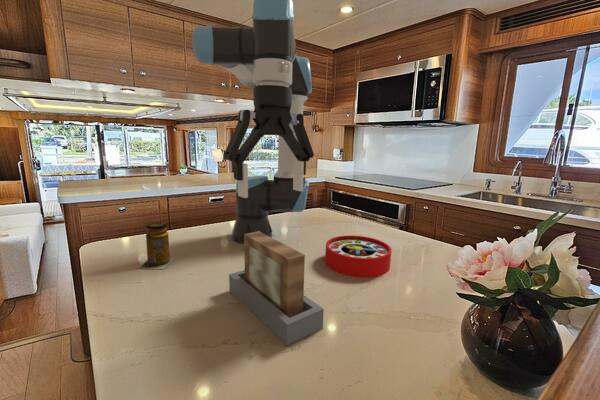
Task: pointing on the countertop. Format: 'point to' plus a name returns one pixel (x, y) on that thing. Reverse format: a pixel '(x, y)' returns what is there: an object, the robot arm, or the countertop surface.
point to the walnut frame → (275, 272)
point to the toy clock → (358, 256)
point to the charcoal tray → (277, 312)
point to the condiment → (157, 246)
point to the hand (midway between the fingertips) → (272, 193)
